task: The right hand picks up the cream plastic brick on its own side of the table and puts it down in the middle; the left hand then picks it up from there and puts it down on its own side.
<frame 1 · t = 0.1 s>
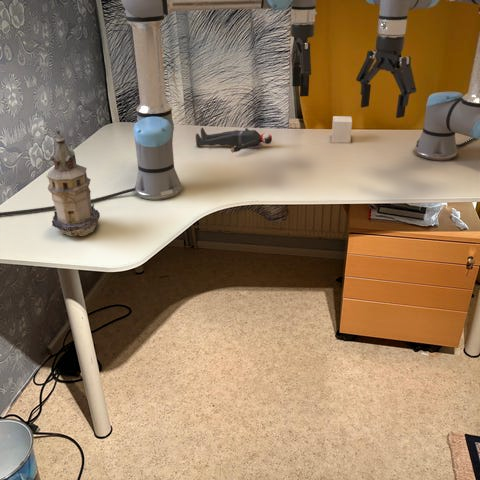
left hand: (300, 91, 180), 28 cm above the table, tool pointing down, fingers open, 13 cm apart
right hand: (381, 111, 157), 28 cm above the table, tool pointing down, fingers open, 13 cm apart
miniature building: (78, 229, 156), on the table
toy: (234, 145, 216), on the table
brick: (340, 139, 221), on the table
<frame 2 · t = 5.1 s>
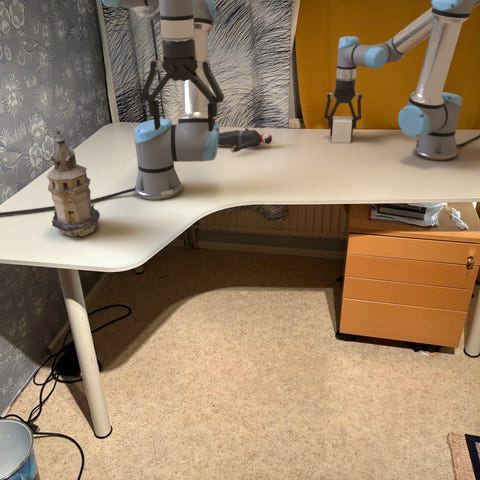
left hand: (184, 128, 133), 32 cm above the table, tool pointing down, fingers open, 13 cm apart
right hand: (341, 135, 220), 2 cm above the table, tool pointing down, fingers closed on brick, 7 cm apart
brick: (340, 139, 221), on the table, touching right hand
everything else where it was.
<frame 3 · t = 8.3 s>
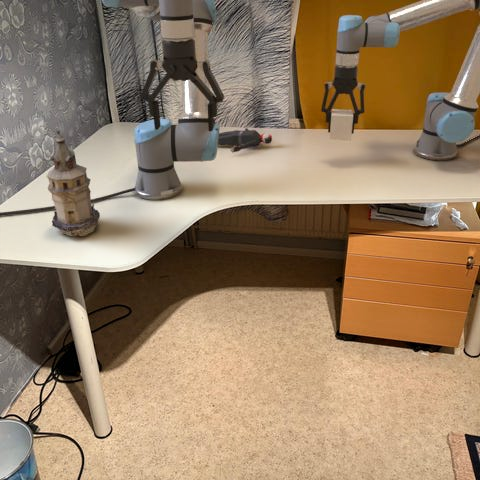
left hand: (184, 128, 133), 32 cm above the table, tool pointing down, fingers open, 13 cm apart
right hand: (340, 131, 190), 13 cm above the table, tool pointing down, fingers closed on brick, 7 cm apart
brick: (340, 136, 191), point 11 cm above the table, touching right hand
everything else where it was.
when the right hand's fingers open (3 cm above the table, at t = 11.7 s): brick drops 1 cm, on the table.
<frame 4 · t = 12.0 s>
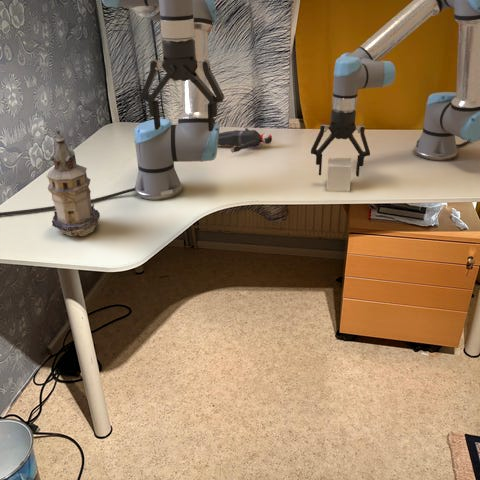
left hand: (184, 128, 133), 32 cm above the table, tool pointing down, fingers open, 13 cm apart
right hand: (338, 174, 177), 4 cm above the table, tool pointing down, fingers open, 11 cm apart
brick: (337, 186, 180), on the table
everything else where it was.
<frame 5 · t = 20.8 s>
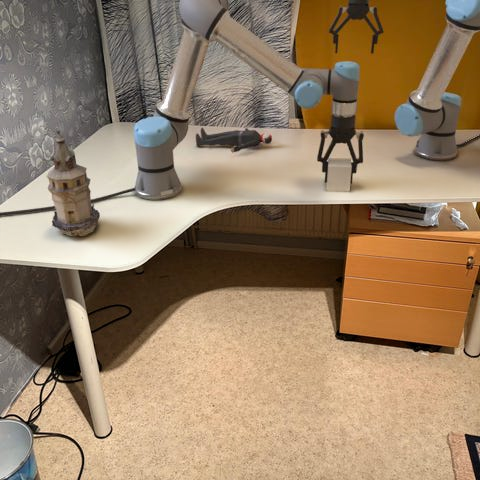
left hand: (338, 181, 179), 2 cm above the table, tool pointing down, fingers closed on brick, 7 cm apart
right hand: (354, 52, 207), 34 cm above the table, tool pointing down, fingers open, 13 cm apart
brick: (337, 186, 180), on the table, touching left hand
everything else where it was.
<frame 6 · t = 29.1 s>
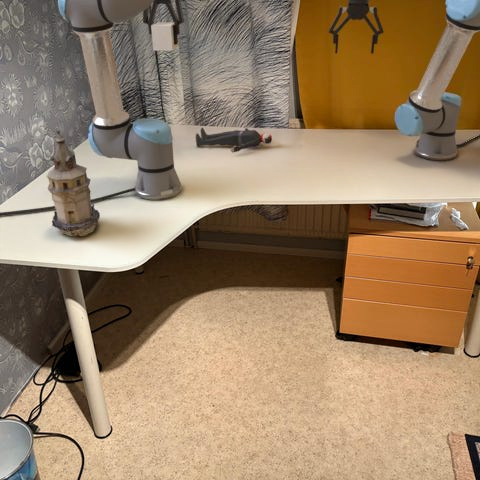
left hand: (165, 43, 198), 39 cm above the table, tool pointing down, fingers closed on brick, 7 cm apart
right hand: (354, 52, 207), 34 cm above the table, tool pointing down, fingers open, 13 cm apart
brick: (166, 48, 199), point 38 cm above the table, touching left hand
everything else where it was.
when the left hand's fingers open (3 cm above the table, at t = 37.4 s): brick drops 1 cm, on the table.
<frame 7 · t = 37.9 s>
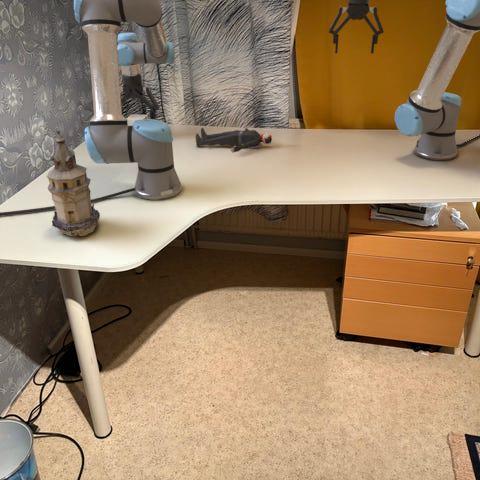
left hand: (137, 126, 225), 5 cm above the table, tool pointing down, fingers open, 13 cm apart
right hand: (354, 52, 207), 34 cm above the table, tool pointing down, fingers open, 13 cm apart
brick: (138, 137, 227), on the table
everything else where it was.
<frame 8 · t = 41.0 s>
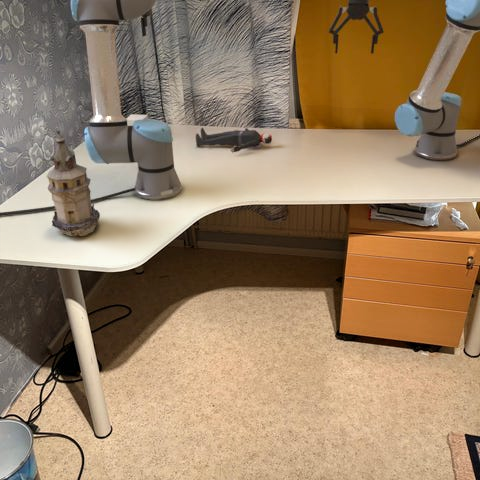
left hand: (127, 35, 207), 41 cm above the table, tool pointing down, fingers open, 13 cm apart
right hand: (354, 52, 207), 34 cm above the table, tool pointing down, fingers open, 13 cm apart
nothing on the table moved.
at the end: brick inside the target area (0.1 cm from its centre), on the table; brick tilted 0°; the two hands never held the brick at the same time; the left hand is holding nothing; the right hand is holding nothing; brick at rest at the end (0.0 cm/s) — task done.
